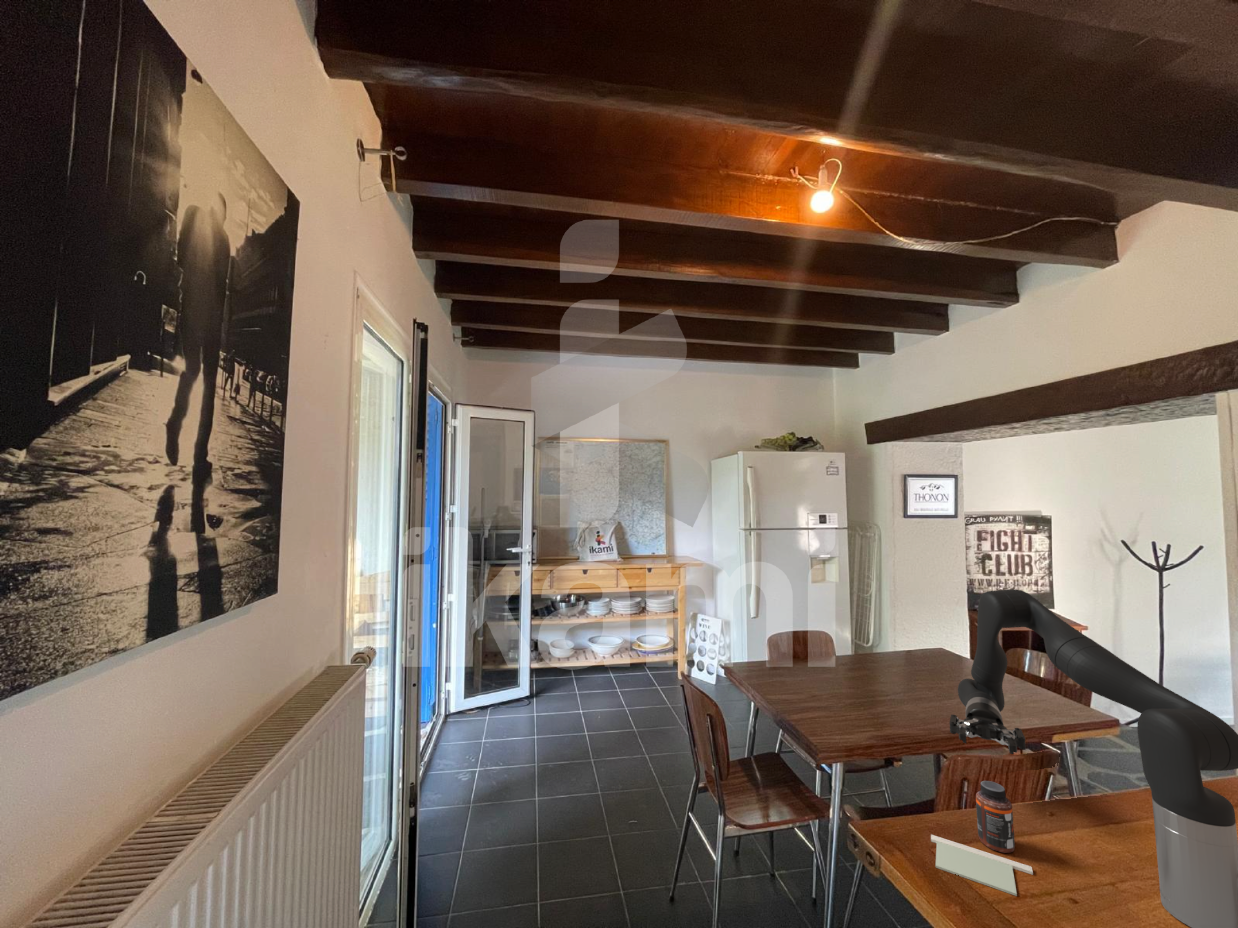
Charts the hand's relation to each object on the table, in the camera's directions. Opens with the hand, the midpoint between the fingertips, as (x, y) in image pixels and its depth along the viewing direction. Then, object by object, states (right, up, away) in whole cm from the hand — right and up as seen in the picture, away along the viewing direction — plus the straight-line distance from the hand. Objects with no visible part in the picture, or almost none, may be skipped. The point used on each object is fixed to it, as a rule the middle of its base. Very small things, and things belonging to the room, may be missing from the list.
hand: (987, 743), depth 110 cm
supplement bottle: (-7, -14, -12) cm, 19 cm away
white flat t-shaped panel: (-15, -13, -17) cm, 26 cm away
